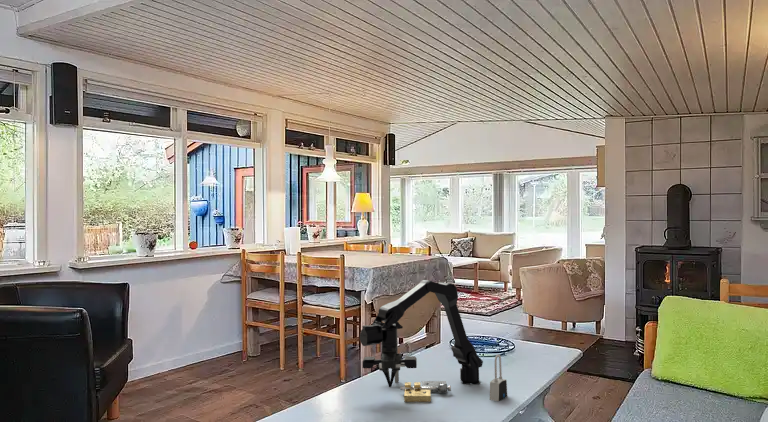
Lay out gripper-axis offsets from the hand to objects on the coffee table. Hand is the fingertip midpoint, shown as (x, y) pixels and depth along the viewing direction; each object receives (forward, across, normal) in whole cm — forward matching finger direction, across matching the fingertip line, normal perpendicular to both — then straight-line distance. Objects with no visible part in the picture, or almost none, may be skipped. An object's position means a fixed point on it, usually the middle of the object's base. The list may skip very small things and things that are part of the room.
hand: (390, 386), depth 202 cm
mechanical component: (+4, +1, +19) cm, 19 cm away
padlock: (+4, +37, 0) cm, 38 cm away
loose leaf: (+4, +9, +1) cm, 10 cm away
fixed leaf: (+4, +12, +8) cm, 15 cm away
